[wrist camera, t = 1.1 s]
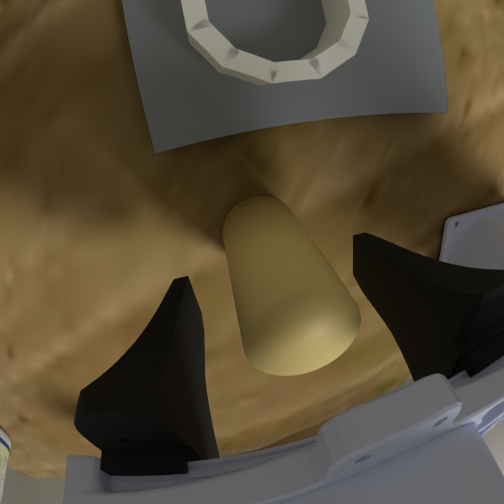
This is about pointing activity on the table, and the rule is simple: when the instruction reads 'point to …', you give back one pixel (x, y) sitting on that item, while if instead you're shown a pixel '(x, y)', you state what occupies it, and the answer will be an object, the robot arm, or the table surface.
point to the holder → (280, 63)
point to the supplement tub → (3, 457)
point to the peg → (285, 291)
